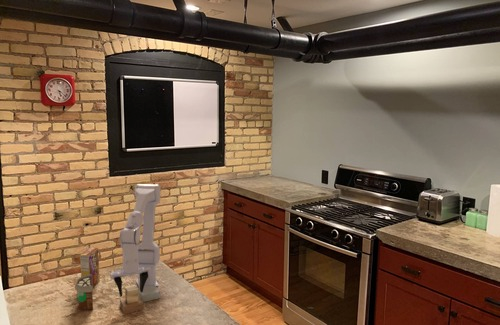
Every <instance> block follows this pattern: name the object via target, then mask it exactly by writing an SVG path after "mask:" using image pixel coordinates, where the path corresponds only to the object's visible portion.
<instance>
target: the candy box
mask: <svg viewBox="0 0 500 325" xmlns="http://www.w3.org/2000/svg"><path fill="white" fill-rule="evenodd" d="M79 261H80V276H81V277H83V276H86V275H90V274H92V289H94V287H95V286H97V284H98V283H99V282H100V281H101V277H100V276H101V275H100V274H101V273H100V258H99V248H98V247H89V248H88V249H86V250H84V252H82V253H81V254H80V255H79ZM81 277H80V278H81Z"/></svg>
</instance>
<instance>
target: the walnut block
mask: <svg viewBox="0 0 500 325" xmlns="http://www.w3.org/2000/svg"><path fill="white" fill-rule="evenodd" d="M119 306H120V308H121V310H122V312H123V314H129V313H133V312H136V311H137V312H138V311H141V310H143V309H144V302H142V300H141V299H140V297H139V295H138V302H134V303H129V304H127V301H126V299H125V297H124V298H120V299H119Z"/></svg>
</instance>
